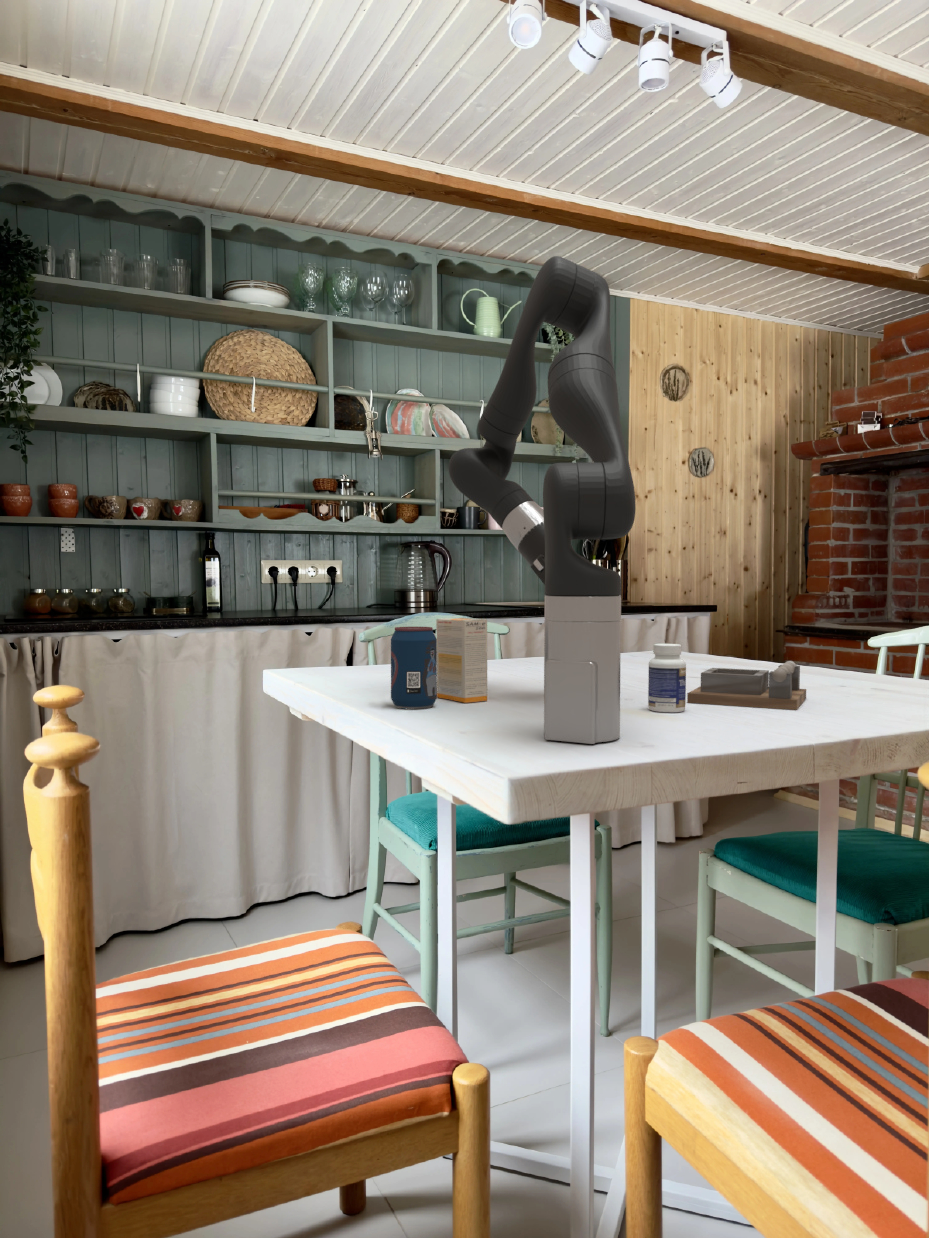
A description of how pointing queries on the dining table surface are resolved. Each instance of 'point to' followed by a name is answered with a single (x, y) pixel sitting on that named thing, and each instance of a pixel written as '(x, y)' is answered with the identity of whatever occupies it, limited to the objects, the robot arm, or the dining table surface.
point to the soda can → (413, 667)
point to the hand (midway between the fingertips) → (597, 607)
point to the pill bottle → (667, 679)
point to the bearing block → (751, 688)
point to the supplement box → (462, 659)
